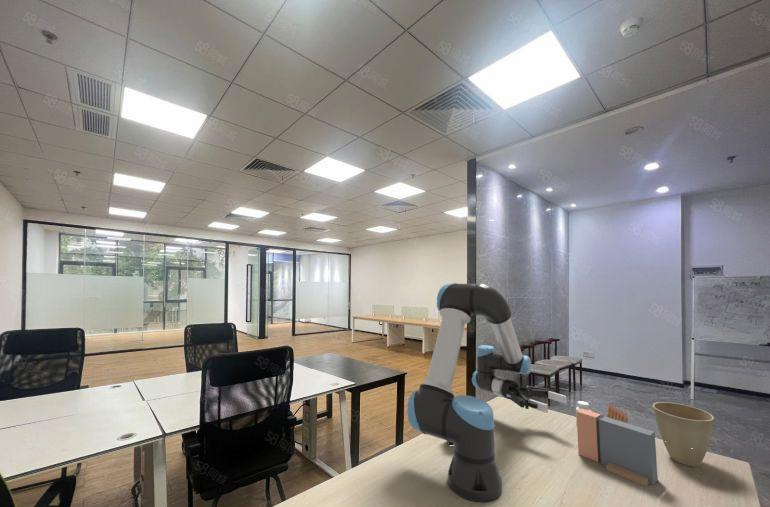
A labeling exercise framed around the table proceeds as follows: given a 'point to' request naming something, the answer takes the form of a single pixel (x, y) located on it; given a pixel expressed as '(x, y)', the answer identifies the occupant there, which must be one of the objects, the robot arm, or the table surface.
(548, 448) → the table surface
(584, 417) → the stub
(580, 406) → the supplement bottle
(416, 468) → the table surface
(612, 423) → the ticket block
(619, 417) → the ammunition clip
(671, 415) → the plant pot
